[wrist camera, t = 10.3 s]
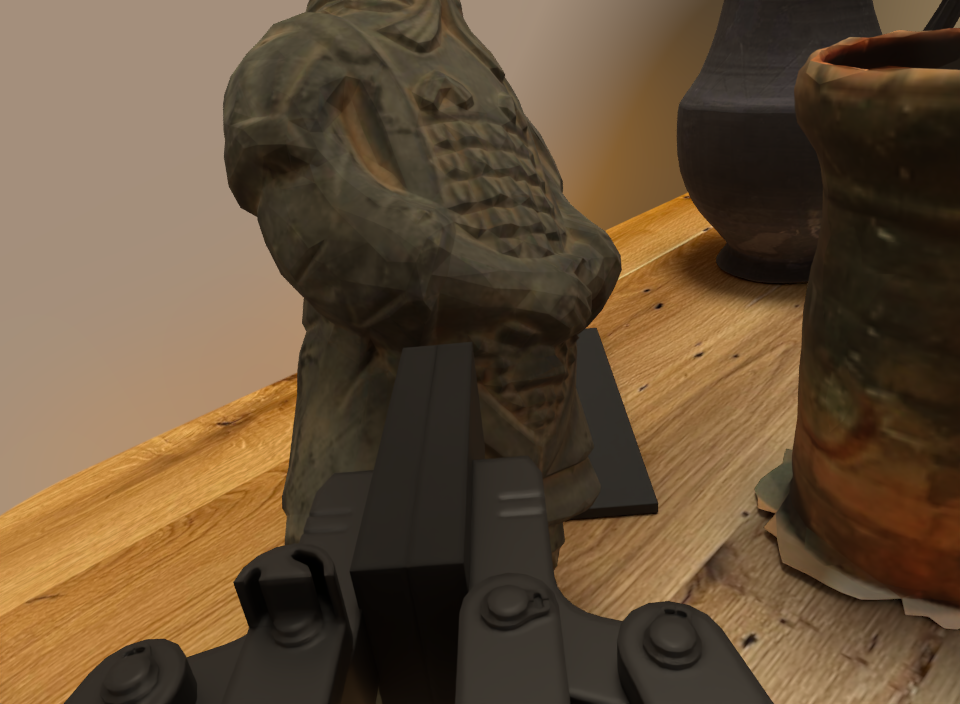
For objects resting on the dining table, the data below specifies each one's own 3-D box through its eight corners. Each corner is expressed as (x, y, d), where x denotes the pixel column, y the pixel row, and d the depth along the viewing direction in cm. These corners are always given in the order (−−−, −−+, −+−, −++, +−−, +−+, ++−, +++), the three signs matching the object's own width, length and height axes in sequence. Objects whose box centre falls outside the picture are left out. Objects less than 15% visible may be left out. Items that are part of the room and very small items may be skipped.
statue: (446, 996, 14) (274, -553, 13) (249, 796, 21) (130, -222, 20) (730, 736, 21) (630, -262, 21) (514, 653, 28) (434, -94, 28)
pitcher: (682, 232, 70) (692, -126, 57) (920, 232, 63) (996, -174, 50) (663, 299, 56) (671, -158, 42) (970, 310, 49) (1095, -233, 35)
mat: (658, 512, 34) (658, 503, 33) (370, 535, 34) (367, 526, 34) (596, 334, 51) (596, 327, 51) (408, 352, 52) (407, 344, 52)
